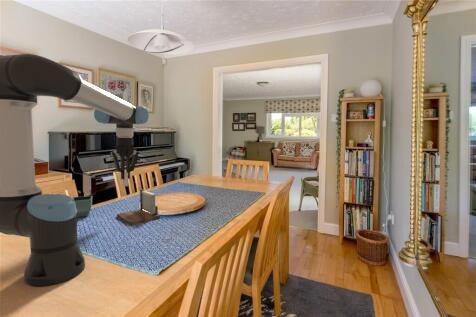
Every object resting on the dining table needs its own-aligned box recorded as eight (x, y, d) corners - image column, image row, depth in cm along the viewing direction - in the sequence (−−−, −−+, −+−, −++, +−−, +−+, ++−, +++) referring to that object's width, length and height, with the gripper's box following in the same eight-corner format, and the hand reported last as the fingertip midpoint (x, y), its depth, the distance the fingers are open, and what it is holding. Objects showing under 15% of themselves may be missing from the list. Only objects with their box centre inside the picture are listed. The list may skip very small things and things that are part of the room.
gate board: (130, 225, 121) (130, 198, 120) (116, 217, 132) (116, 192, 131) (160, 218, 132) (160, 193, 130) (145, 210, 143) (144, 188, 141)
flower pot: (73, 213, 135) (73, 196, 134) (93, 212, 139) (92, 195, 138) (71, 219, 127) (70, 201, 127) (91, 217, 131) (91, 199, 130)
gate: (142, 209, 137) (141, 191, 136) (145, 208, 139) (145, 190, 138) (152, 214, 130) (151, 194, 129) (155, 213, 132) (155, 194, 131)
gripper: (136, 137, 133) (136, 183, 135) (108, 136, 125) (109, 185, 127) (141, 137, 127) (141, 185, 129) (112, 137, 119) (113, 188, 121)
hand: (125, 185), depth 128 cm, fingers closed
